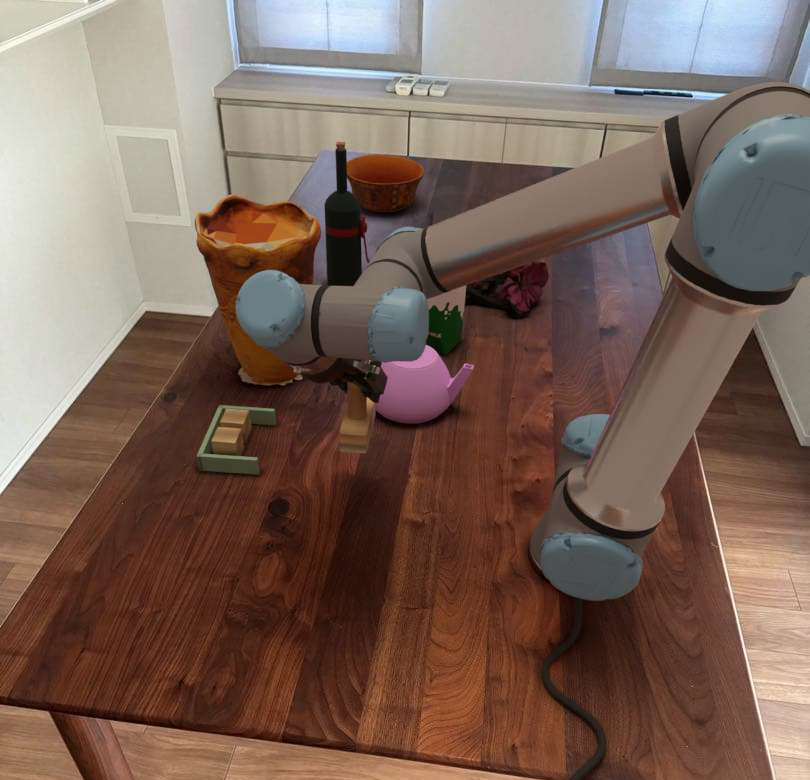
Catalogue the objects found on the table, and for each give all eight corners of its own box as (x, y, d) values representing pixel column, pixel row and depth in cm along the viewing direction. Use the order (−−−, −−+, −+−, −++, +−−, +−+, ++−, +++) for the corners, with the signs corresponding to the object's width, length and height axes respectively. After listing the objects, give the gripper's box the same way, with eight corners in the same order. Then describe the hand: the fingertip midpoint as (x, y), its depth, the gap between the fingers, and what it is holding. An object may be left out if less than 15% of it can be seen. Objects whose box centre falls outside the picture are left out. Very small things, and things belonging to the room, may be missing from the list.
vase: (201, 397, 145) (171, 235, 124) (233, 341, 159) (211, 188, 138) (314, 408, 143) (303, 246, 122) (336, 351, 158) (330, 197, 137)
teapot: (339, 417, 141) (337, 358, 133) (364, 372, 152) (363, 314, 144) (460, 437, 138) (466, 378, 129) (476, 390, 149) (482, 332, 140)
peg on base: (366, 453, 116) (364, 368, 106) (339, 451, 116) (335, 366, 106) (375, 414, 123) (374, 331, 113) (350, 412, 124) (346, 329, 114)
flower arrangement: (398, 310, 170) (399, 241, 160) (410, 270, 185) (412, 205, 174) (544, 323, 168) (554, 254, 158) (544, 281, 182) (554, 215, 172)
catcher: (258, 474, 129) (256, 460, 127) (199, 470, 130) (196, 456, 127) (276, 422, 140) (274, 408, 138) (221, 419, 140) (219, 404, 138)
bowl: (437, 202, 215) (439, 164, 208) (395, 229, 201) (396, 188, 195) (373, 186, 222) (373, 148, 215) (328, 210, 209) (327, 170, 202)
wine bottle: (370, 295, 175) (369, 151, 154) (324, 292, 176) (317, 148, 155) (374, 279, 181) (374, 138, 160) (329, 276, 181) (324, 135, 160)
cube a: (238, 462, 131) (235, 442, 129) (214, 460, 132) (211, 440, 129) (244, 447, 134) (241, 428, 131) (221, 445, 134) (217, 426, 132)
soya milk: (466, 339, 162) (475, 243, 148) (447, 359, 156) (454, 262, 143) (428, 328, 165) (433, 233, 151) (408, 348, 159) (411, 251, 145)
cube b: (246, 443, 135) (243, 423, 132) (223, 441, 135) (219, 421, 133) (251, 429, 138) (249, 410, 135) (229, 427, 138) (226, 408, 136)
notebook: (433, 214, 209) (429, 248, 194) (433, 208, 208) (430, 242, 192) (481, 216, 208) (481, 251, 193) (482, 210, 207) (482, 244, 192)
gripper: (247, 363, 98) (312, 405, 121) (367, 388, 94) (410, 427, 117) (263, 304, 98) (325, 357, 121) (382, 327, 94) (423, 378, 117)
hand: (367, 391), depth 119 cm, fingers closed on peg on base, 3 cm apart
